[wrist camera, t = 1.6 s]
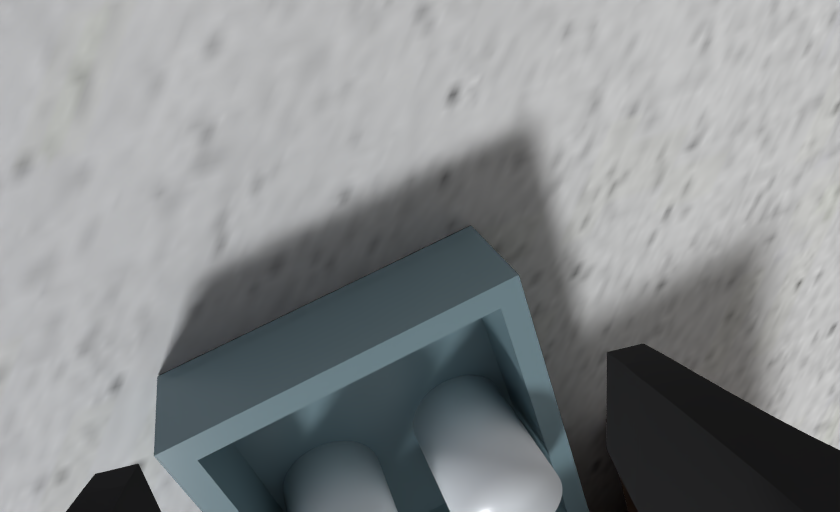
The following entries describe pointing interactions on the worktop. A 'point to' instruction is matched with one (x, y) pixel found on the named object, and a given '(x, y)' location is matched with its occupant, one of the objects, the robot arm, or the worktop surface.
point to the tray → (378, 400)
